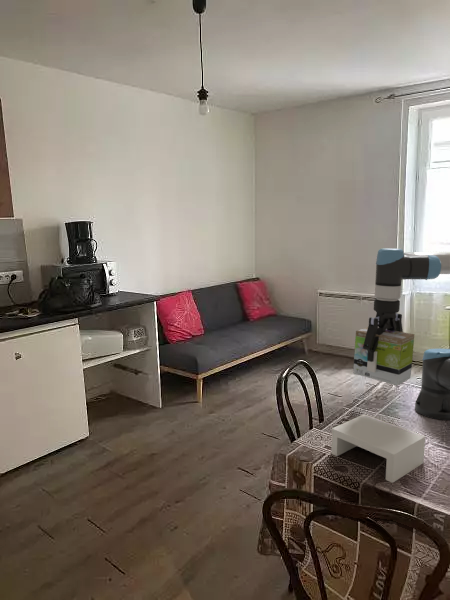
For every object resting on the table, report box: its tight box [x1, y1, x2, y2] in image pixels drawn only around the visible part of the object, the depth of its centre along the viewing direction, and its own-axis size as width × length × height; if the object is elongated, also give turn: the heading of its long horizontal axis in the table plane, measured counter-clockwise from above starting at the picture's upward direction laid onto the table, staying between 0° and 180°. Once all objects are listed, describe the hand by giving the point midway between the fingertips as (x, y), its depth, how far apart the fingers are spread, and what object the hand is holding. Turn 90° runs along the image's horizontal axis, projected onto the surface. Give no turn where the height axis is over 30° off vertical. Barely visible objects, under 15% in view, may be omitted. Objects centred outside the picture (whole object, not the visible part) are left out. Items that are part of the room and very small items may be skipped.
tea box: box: [353, 326, 415, 387], centre depth 141 cm, size 15×10×15 cm
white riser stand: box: [330, 413, 426, 484], centre depth 130 cm, size 16×20×8 cm
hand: (382, 368), depth 142 cm, fingers closed on tea box, 11 cm apart
